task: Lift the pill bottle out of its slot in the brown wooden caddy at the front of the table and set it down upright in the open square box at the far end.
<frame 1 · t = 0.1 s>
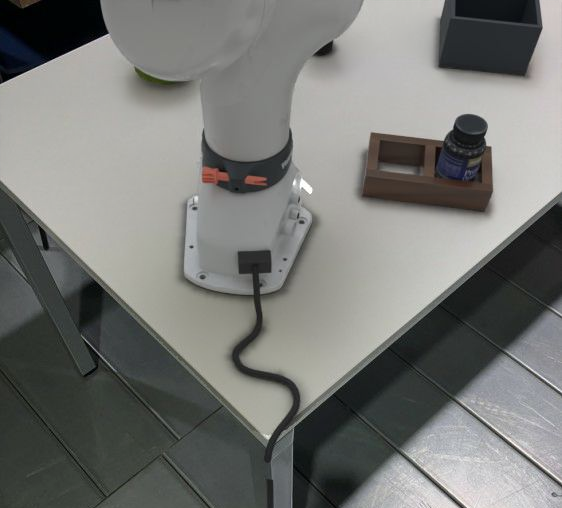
pill bottle: (451, 185, 97), resting in brown wooden caddy
brown wooden caddy: (424, 181, 97), on the table
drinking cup: (319, 48, 116), on the table
apple: (166, 74, 111), on the table
open square box: (480, 47, 117), on the table
soap bottle: (250, 98, 108), on the table
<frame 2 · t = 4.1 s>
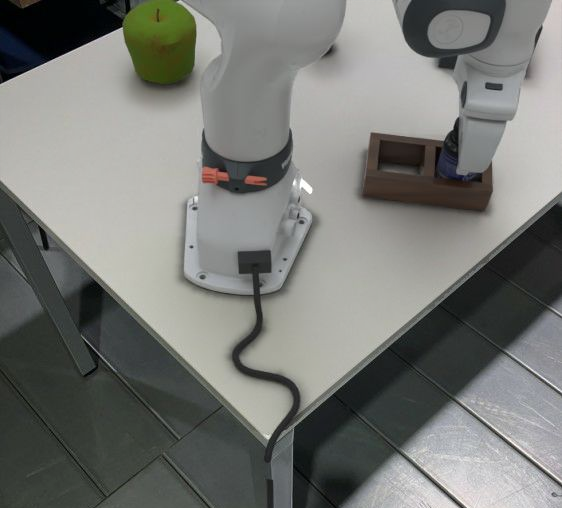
hand: (461, 155, 92), 6 cm above the table, tool pointing down, fingers closed on pill bottle, 6 cm apart
pill bottle: (451, 185, 97), resting in brown wooden caddy, touching gripper
everything else where it was.
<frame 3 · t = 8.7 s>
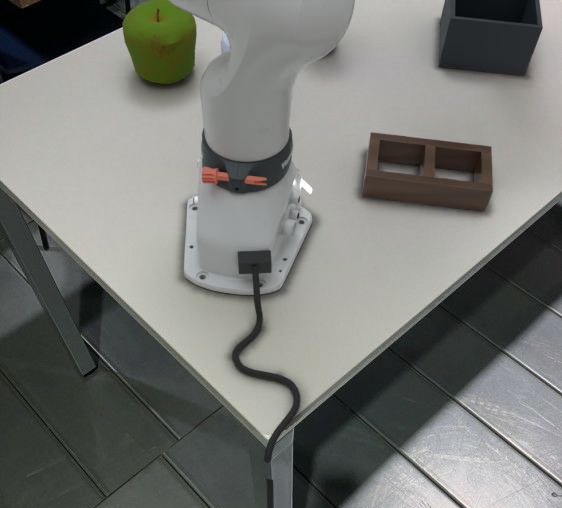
when the fingers open (6 cm above the table, at t = 13.6 s): pill bottle stays where it is, resting on open square box.
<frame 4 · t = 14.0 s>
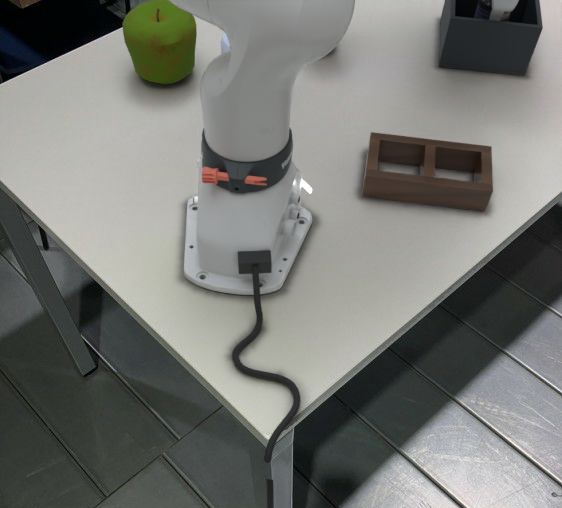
hand: (492, 9, 111), 7 cm above the table, tool pointing down, fingers open, 8 cm apart
pill bottle: (483, 44, 116), point 1 cm above the table, touching open square box
everything else where it was.
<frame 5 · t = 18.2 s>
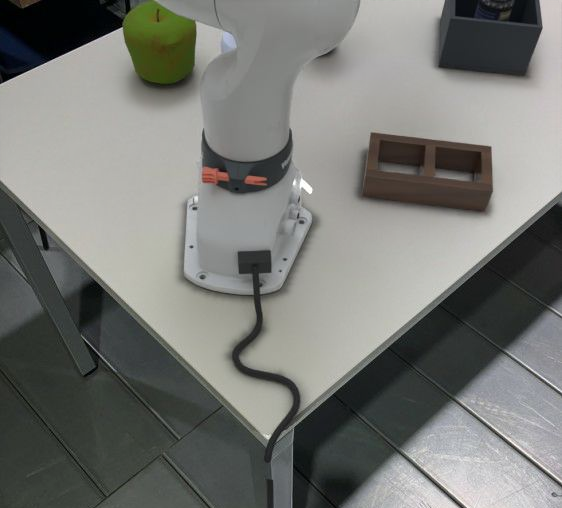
nothing on the table moved.
at the end: pill bottle inside the target area in the open square box (0.3 cm from its centre), point 0.6 cm above the open square box's base; pill bottle tilted 0°; the gripper is holding nothing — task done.
